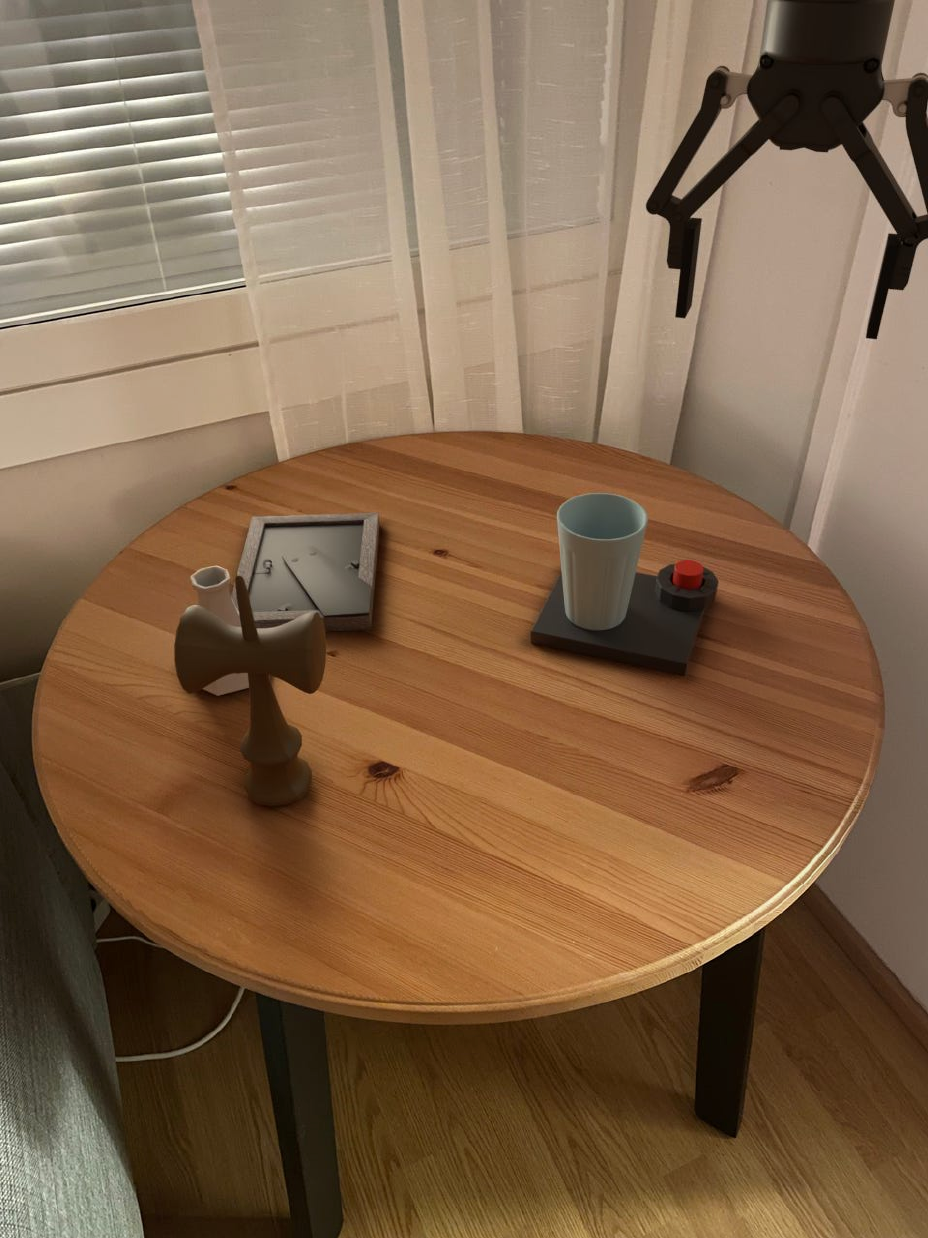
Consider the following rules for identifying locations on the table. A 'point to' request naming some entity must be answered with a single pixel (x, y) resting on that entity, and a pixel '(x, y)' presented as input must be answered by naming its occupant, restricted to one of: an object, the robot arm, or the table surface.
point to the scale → (635, 623)
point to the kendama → (257, 686)
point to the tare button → (688, 574)
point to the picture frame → (311, 569)
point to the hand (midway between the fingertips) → (775, 321)
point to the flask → (219, 602)
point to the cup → (599, 556)
